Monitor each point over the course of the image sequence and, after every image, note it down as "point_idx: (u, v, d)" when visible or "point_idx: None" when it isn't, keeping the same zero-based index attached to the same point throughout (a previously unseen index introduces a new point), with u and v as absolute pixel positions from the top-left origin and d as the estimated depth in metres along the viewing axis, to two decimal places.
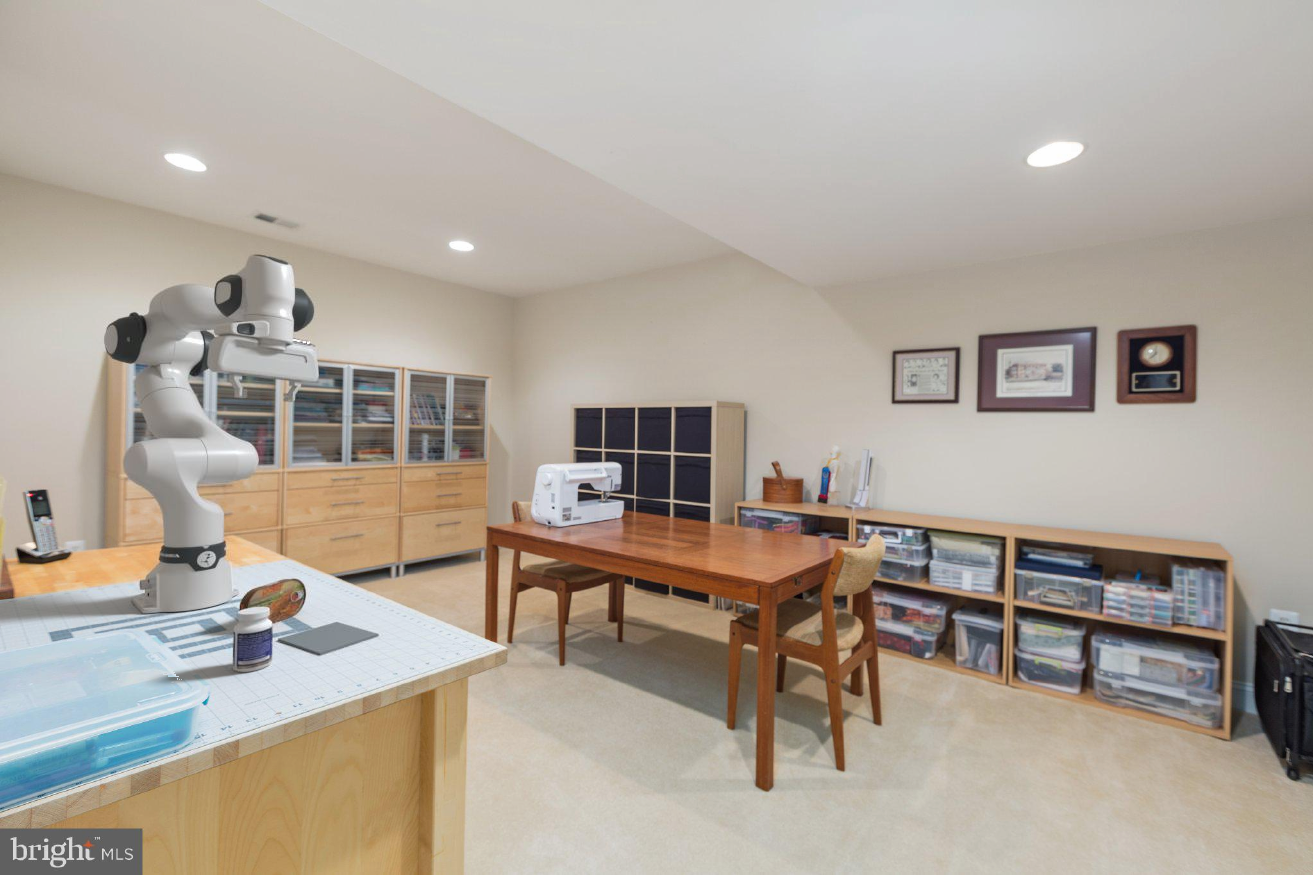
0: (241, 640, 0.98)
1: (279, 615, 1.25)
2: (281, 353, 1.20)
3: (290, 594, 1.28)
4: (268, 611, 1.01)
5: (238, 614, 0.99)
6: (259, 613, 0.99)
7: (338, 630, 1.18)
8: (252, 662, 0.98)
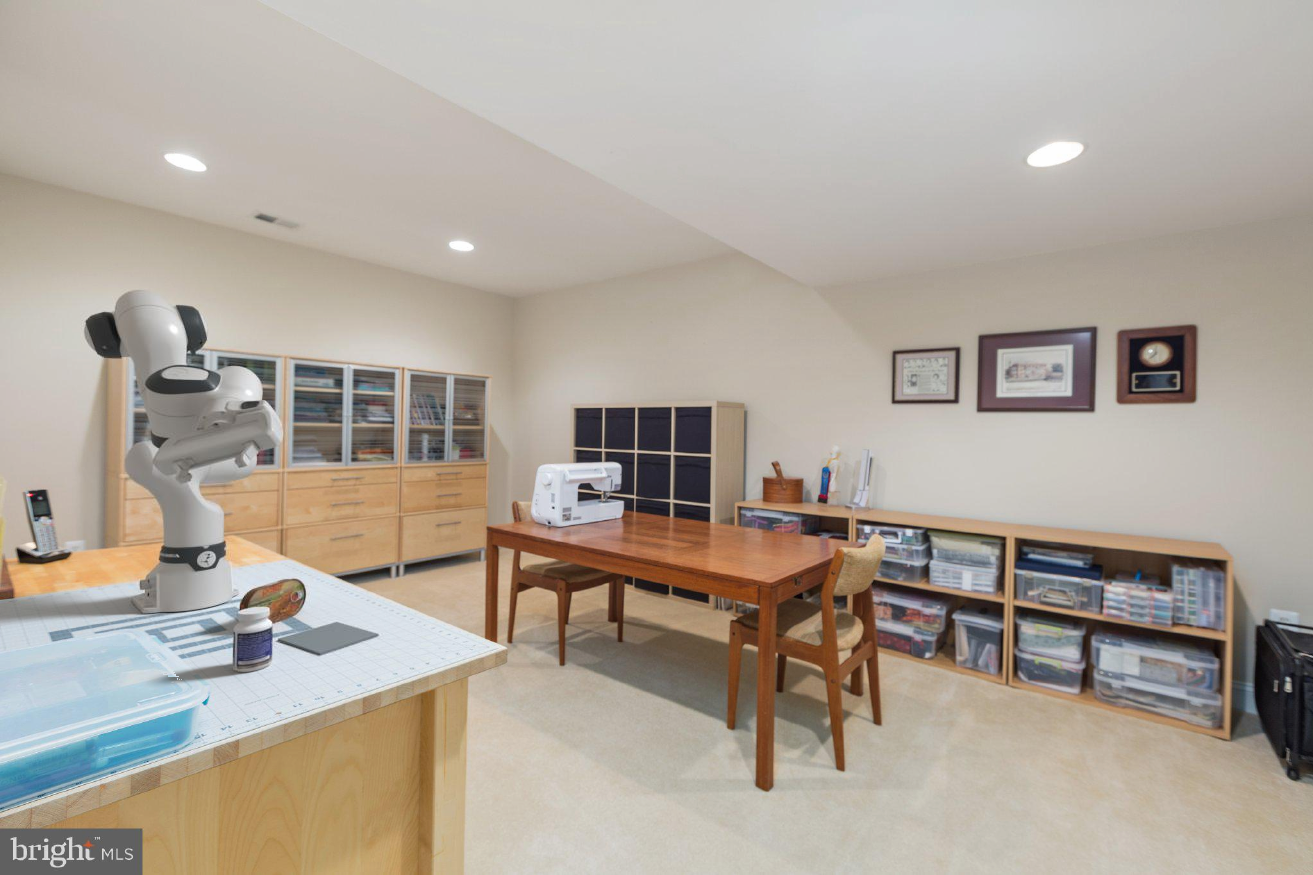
0: (240, 640, 0.98)
1: (279, 615, 1.25)
2: None
3: (290, 594, 1.28)
4: (268, 611, 1.01)
5: (238, 614, 0.99)
6: (259, 613, 0.99)
7: (338, 630, 1.18)
8: (252, 662, 0.98)
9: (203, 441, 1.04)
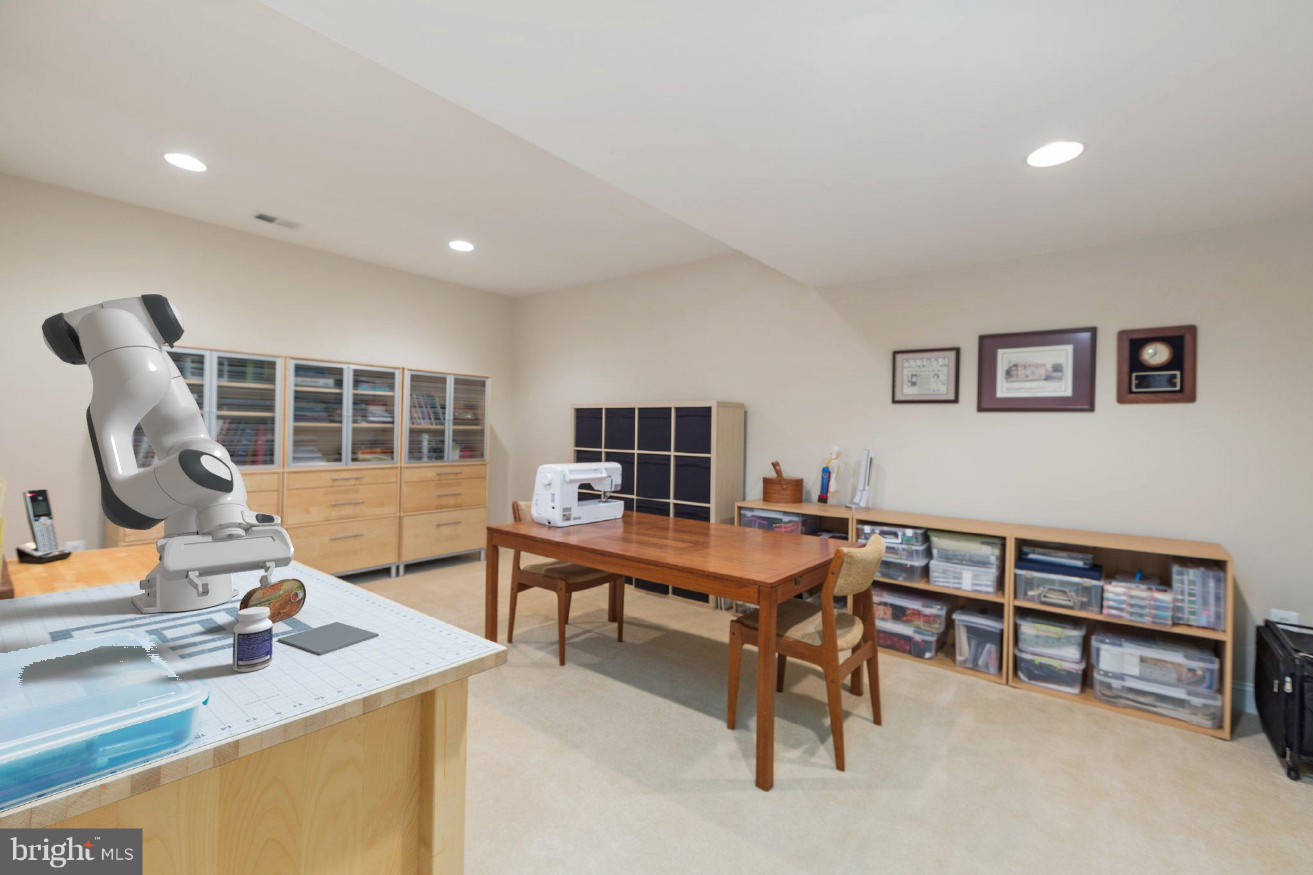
0: (241, 640, 0.98)
1: (279, 615, 1.25)
2: None
3: (290, 594, 1.28)
4: (268, 611, 1.01)
5: (238, 614, 0.99)
6: (259, 613, 0.99)
7: (338, 630, 1.18)
8: (252, 662, 0.98)
9: (219, 552, 1.06)
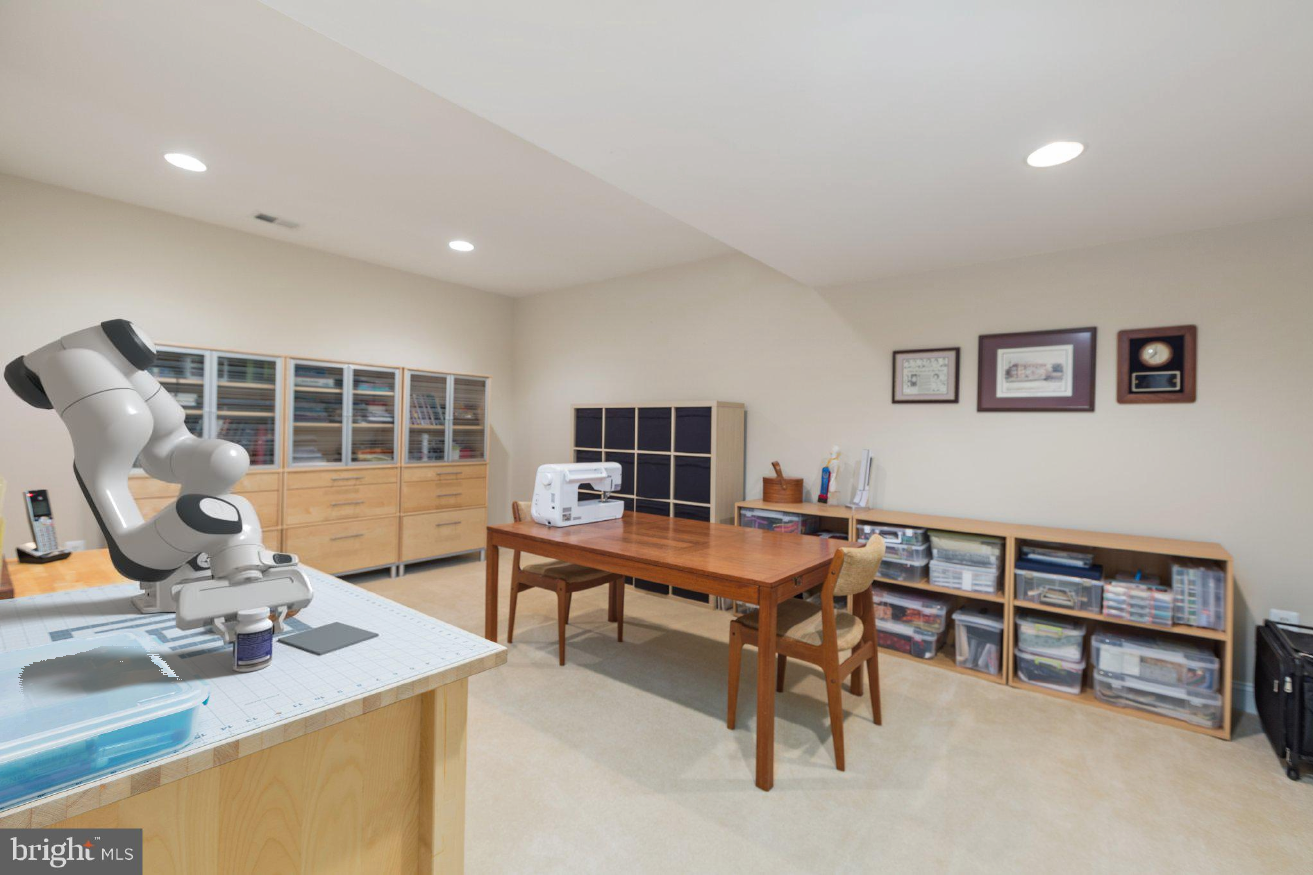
0: (241, 640, 0.98)
1: None
2: None
3: None
4: (268, 611, 1.01)
5: (238, 614, 0.99)
6: (259, 613, 0.99)
7: (338, 630, 1.18)
8: (252, 662, 0.98)
9: (237, 598, 1.01)
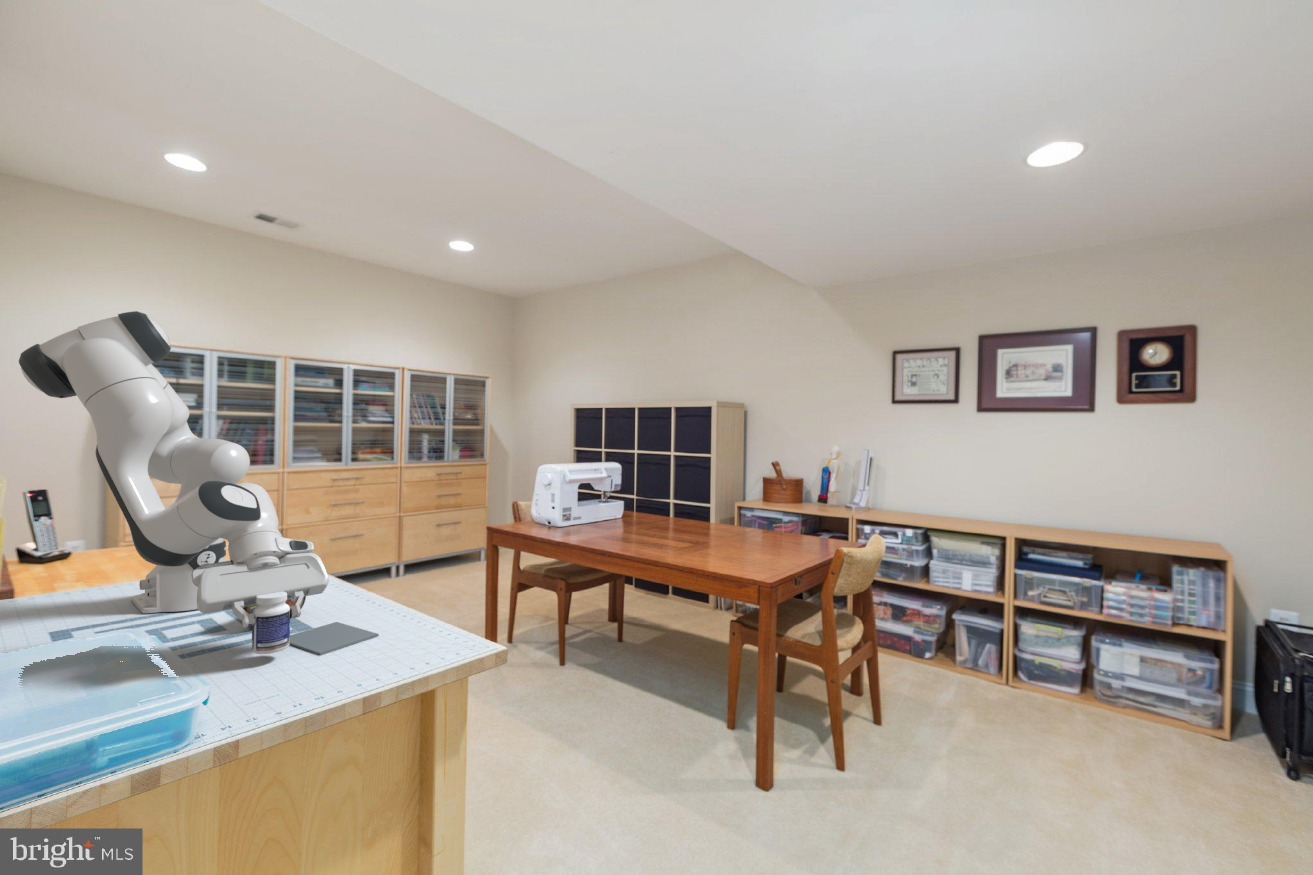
0: (260, 623, 1.01)
1: None
2: None
3: None
4: (286, 595, 1.04)
5: (257, 598, 1.02)
6: (277, 597, 1.02)
7: (338, 630, 1.18)
8: (271, 645, 1.01)
9: (255, 582, 1.04)
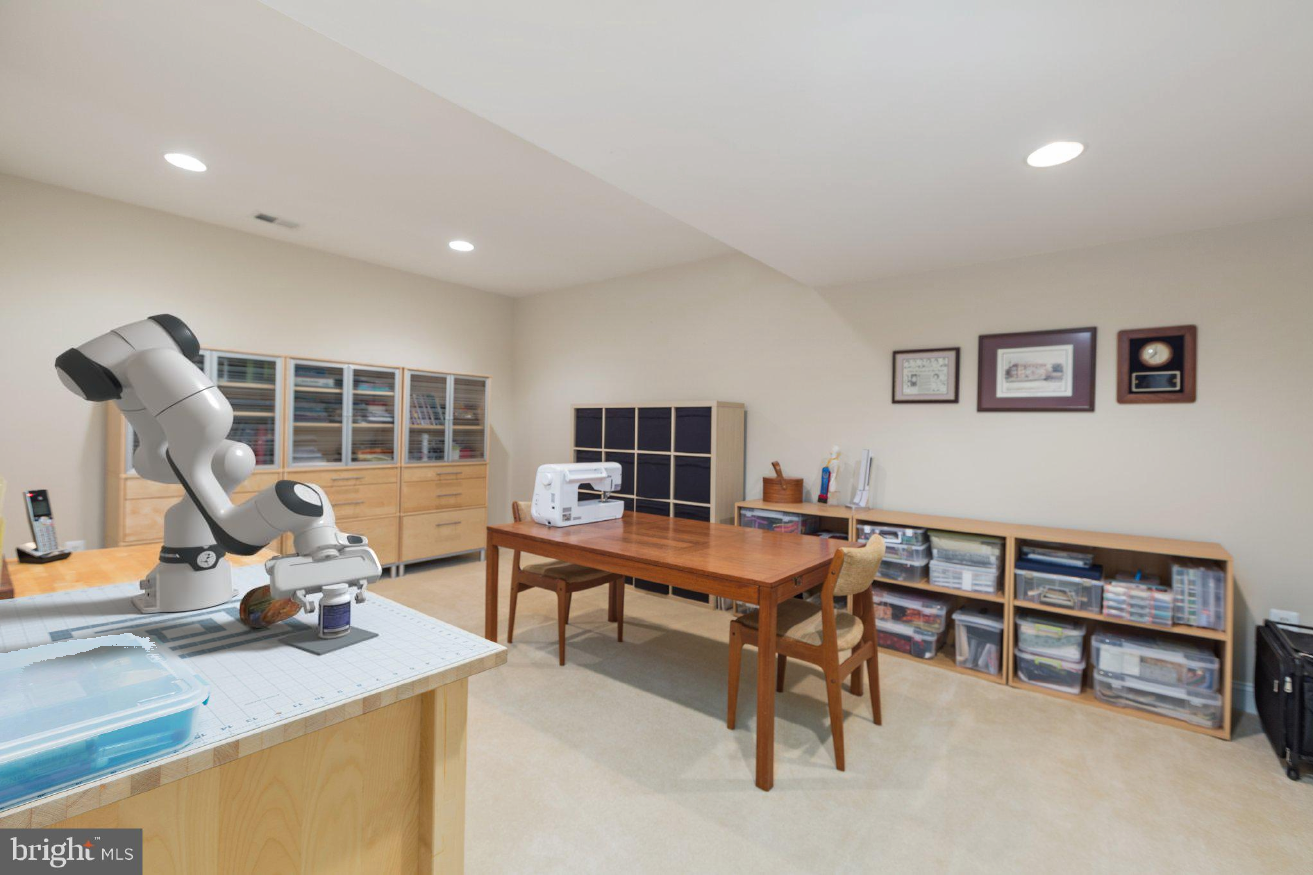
0: (326, 611, 1.13)
1: (279, 615, 1.25)
2: None
3: None
4: (347, 586, 1.16)
5: (323, 589, 1.14)
6: (341, 588, 1.15)
7: None
8: (335, 630, 1.13)
9: (320, 572, 1.16)
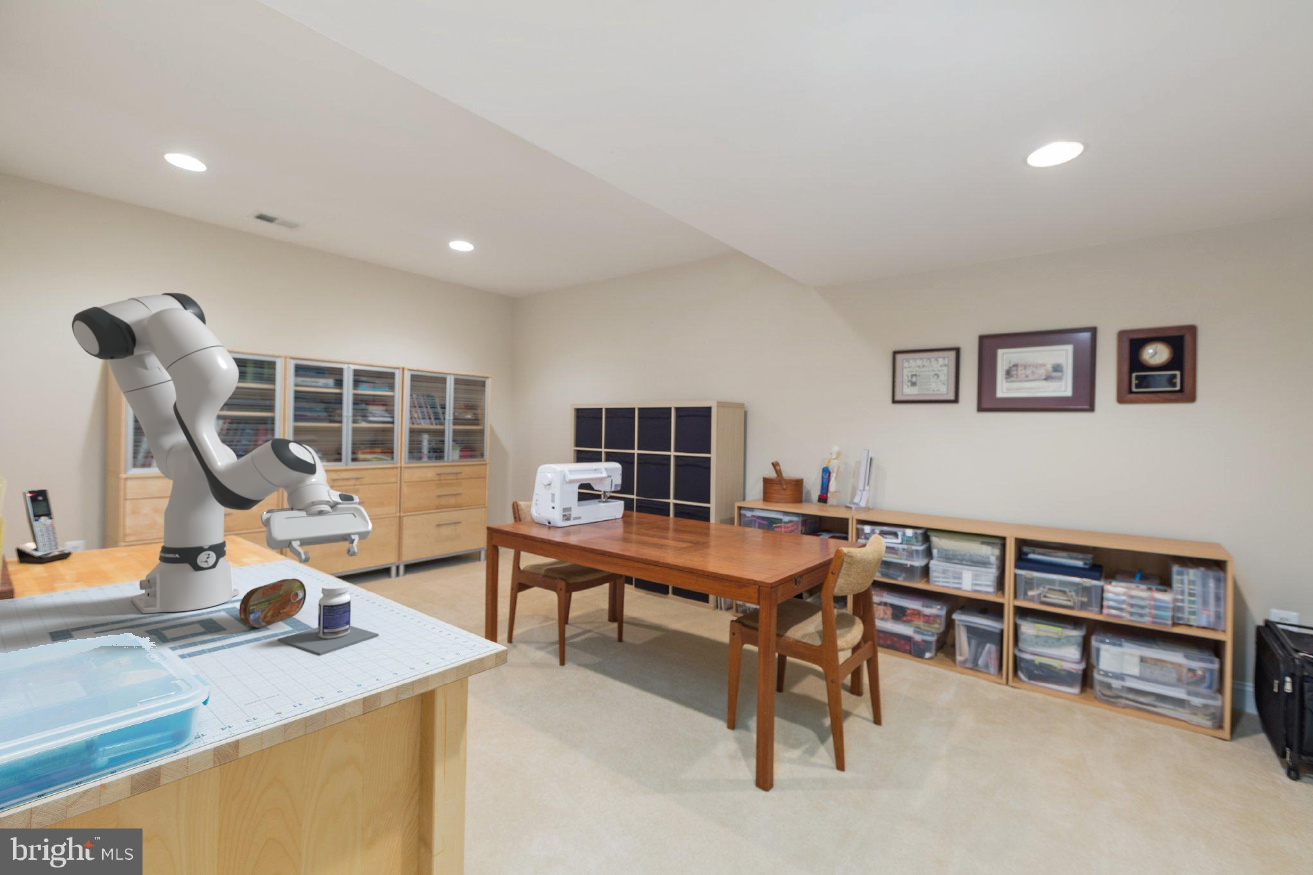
0: (326, 611, 1.13)
1: (279, 615, 1.25)
2: None
3: (290, 594, 1.28)
4: (347, 586, 1.16)
5: (323, 589, 1.14)
6: (341, 588, 1.15)
7: None
8: (335, 630, 1.14)
9: (314, 526, 1.22)
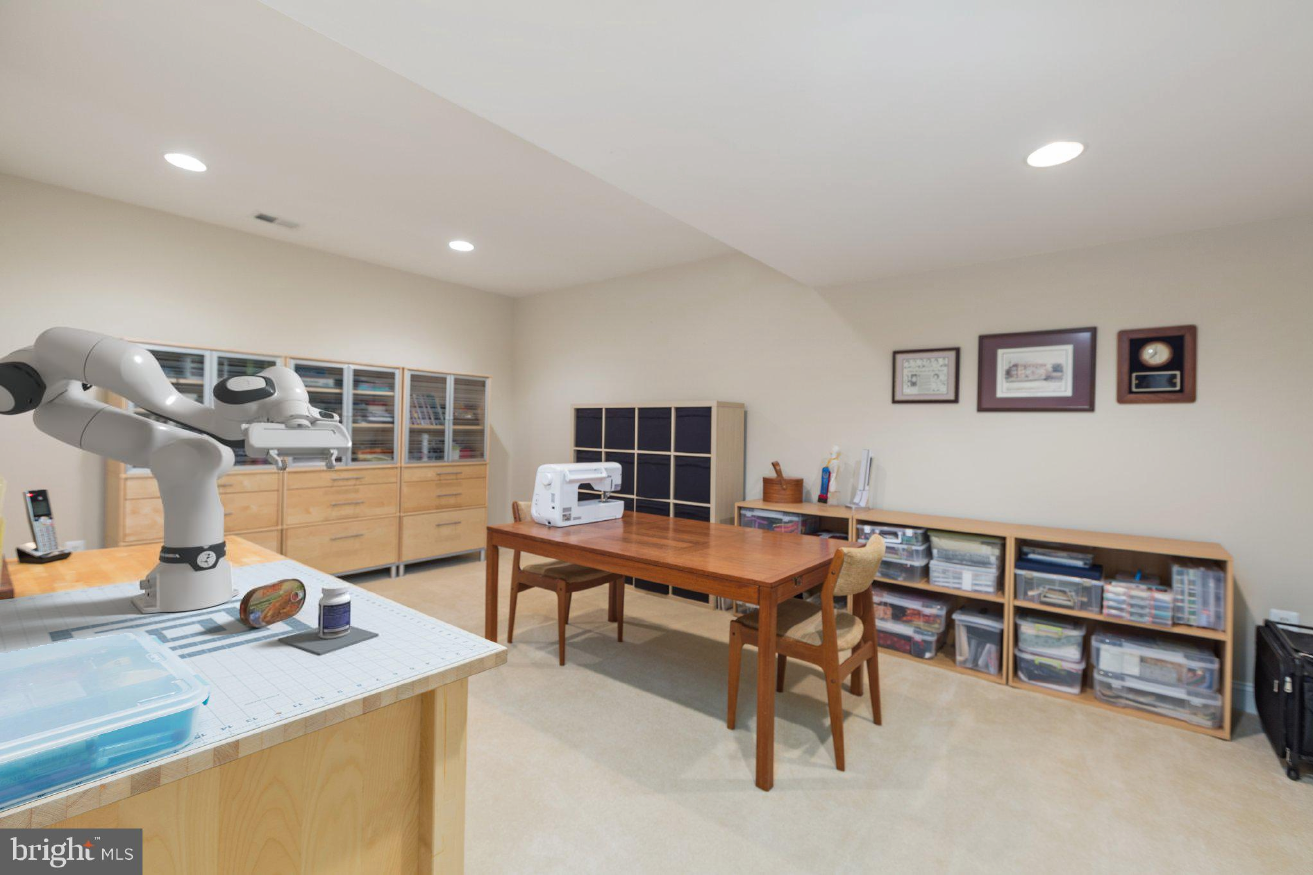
0: (326, 611, 1.13)
1: (279, 615, 1.25)
2: None
3: (290, 594, 1.28)
4: (347, 586, 1.16)
5: (323, 589, 1.14)
6: (341, 588, 1.15)
7: None
8: (335, 630, 1.14)
9: (292, 438, 1.25)
